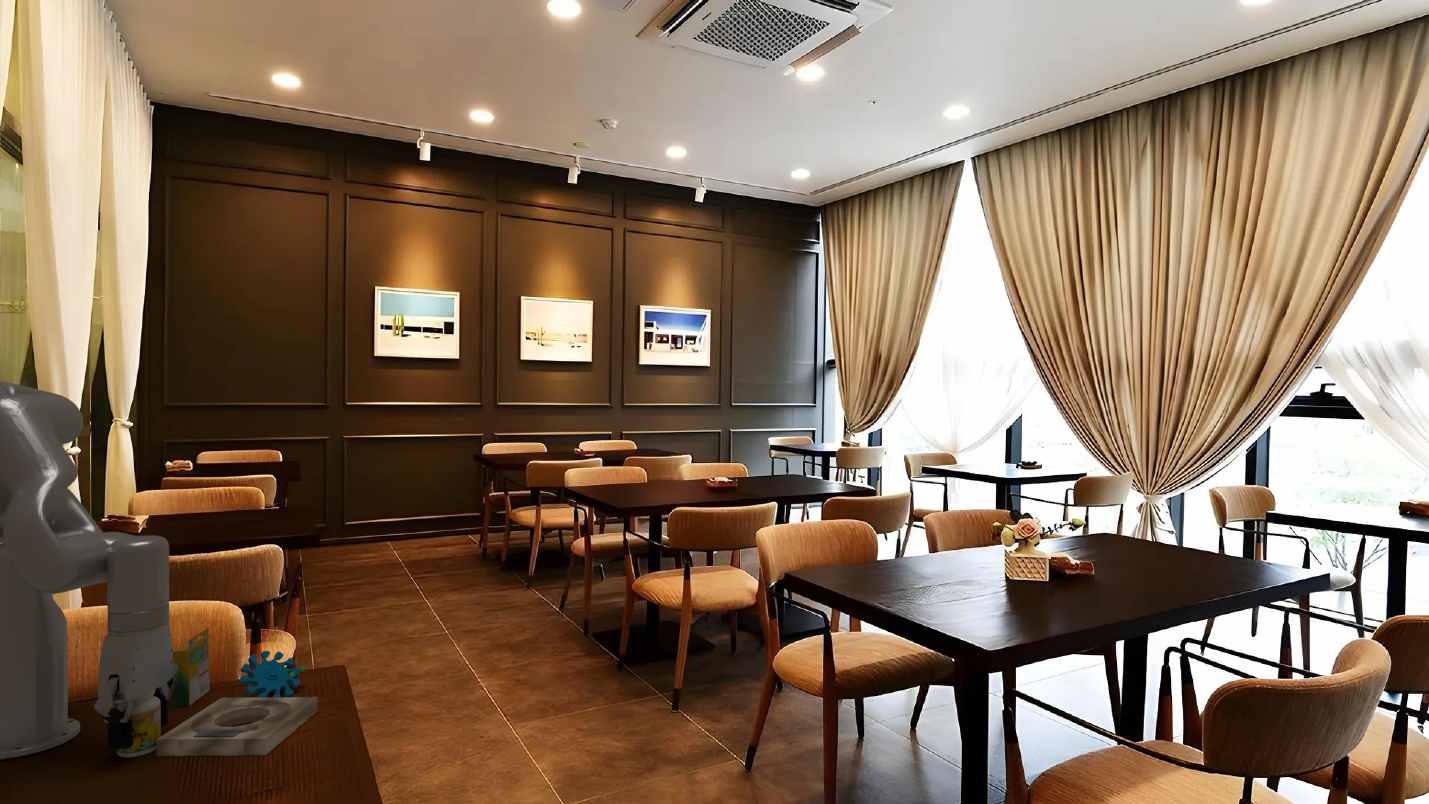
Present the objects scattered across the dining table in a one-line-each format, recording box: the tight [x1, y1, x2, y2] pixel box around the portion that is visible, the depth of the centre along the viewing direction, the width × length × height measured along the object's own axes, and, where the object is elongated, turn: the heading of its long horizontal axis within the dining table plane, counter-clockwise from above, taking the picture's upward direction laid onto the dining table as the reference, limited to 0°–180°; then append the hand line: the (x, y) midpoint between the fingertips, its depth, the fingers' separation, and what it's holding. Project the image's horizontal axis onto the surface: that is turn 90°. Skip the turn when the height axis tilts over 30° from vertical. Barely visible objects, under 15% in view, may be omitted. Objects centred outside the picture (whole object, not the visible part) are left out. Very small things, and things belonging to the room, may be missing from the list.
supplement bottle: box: [116, 690, 162, 758], centre depth 117 cm, size 5×5×10 cm
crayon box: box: [171, 627, 210, 708], centre depth 137 cm, size 7×3×12 cm, turn 10°
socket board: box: [156, 696, 319, 757], centre depth 124 cm, size 16×16×3 cm
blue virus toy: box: [239, 650, 306, 697], centre depth 139 cm, size 11×6×10 cm
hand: (138, 735), depth 117 cm, fingers open, 6 cm apart
